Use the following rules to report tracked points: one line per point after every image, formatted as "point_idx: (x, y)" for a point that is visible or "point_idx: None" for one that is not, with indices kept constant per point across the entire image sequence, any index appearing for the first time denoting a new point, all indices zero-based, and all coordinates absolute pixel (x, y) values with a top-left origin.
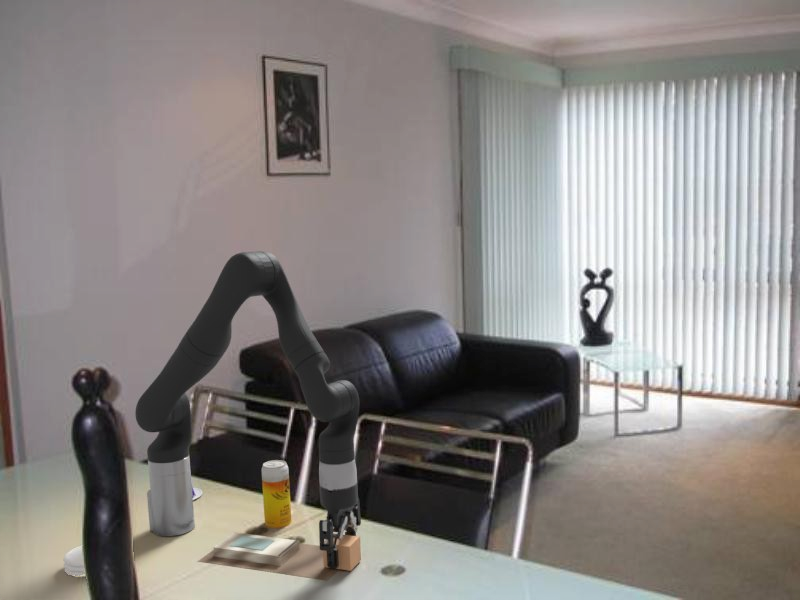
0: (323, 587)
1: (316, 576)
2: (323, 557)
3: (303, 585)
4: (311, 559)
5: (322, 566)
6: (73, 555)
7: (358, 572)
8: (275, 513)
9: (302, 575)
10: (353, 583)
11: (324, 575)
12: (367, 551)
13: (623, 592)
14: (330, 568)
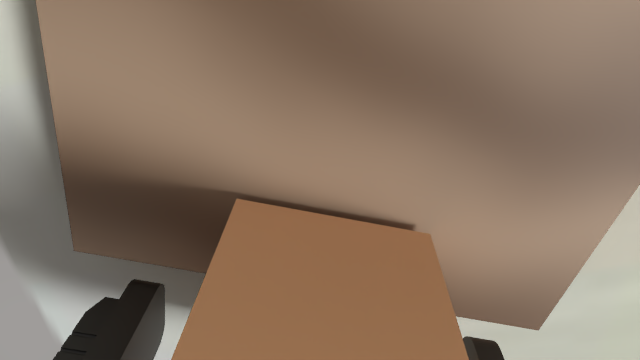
0: (57, 213)
1: (93, 173)
2: (216, 252)
3: (18, 76)
4: (399, 45)
5: (266, 176)
6: None
7: None
8: None
9: (63, 56)
10: (164, 336)
11: (130, 221)
12: (574, 341)
13: None
14: None
